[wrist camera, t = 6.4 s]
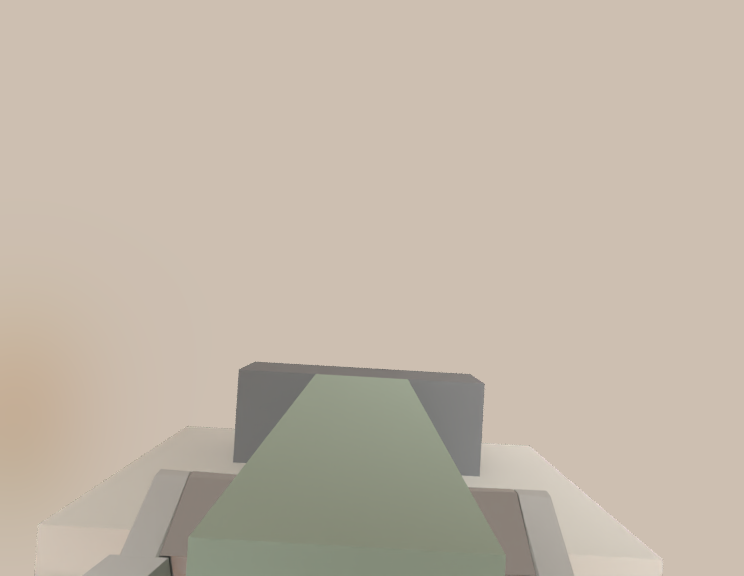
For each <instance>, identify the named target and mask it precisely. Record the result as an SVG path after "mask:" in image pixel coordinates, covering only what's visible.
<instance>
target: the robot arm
mask: <svg viewBox="0 0 744 576" xmlns="http://www.w3.org/2000/svg"><path fill="white" fill-rule="evenodd" d="M236 476H237V474H225V473H212V472H200V471H193V472H191V471H179V470H167V469H160V470H159V472H158V473H157V474H156V475H155V476H154V478H153V480H152V482H151V484H150V487H149V489H148V491H147V494H146V496H145V498H144V500H143V503H142V505H141V507H140V509H139V512H138V514H137V516H136V519H135V521H134V523H133V525H132V528H131V530H130V532H129V535H128V537H127V539H126V541H125V544H124V546H123V548H122V550H121V553H120V555H108V556H107V557H106V558H104V559H103V560H102V561H100V562H99V563H98V564H97V565H95V566H94V567H93V568H91V569H90V570H89V571H87V572H86V573H85V574H84V575H82V576H186V566H187V551H188V537H189V536H190V535H191V533H192V532H193V531H194V529H195V528H196V527H197V526H198V524H199V523H200V522H201V520H202V519H203V518H204V517H205V515H206V514H207V513H208V511H209V510H210V509H211V508H212V506H213V505H214V504H215V503H216V501H217V500H218V499H219V497H220V496H221V495H222V494H223V492H224V491H225V490H226V488H227V487H228V486H229V485H230V483H231V482H232V481H233V479H234V478H235V477H236ZM468 488H469V490H470V492H471V493H472V495H473V497H474V499H475V501H476V502H477V504H478V506H479V508H480V510H481V511H482V513H483V515H484V517H485V518H486V520H487V522H488V524H489V526H490V527H491V529H492V531H493V533H494V535H495V536H496V538H497V540H498V542H499V544H500V545H501V547H502V549H503V551H504V553H505V554H506V564H505V576H574V573H573V570H572V566H571V563H570V560H569V556H568V553H567V549H566V546H565V543H564V539H563V536H562V533H561V529H560V526H559V523H558V519H557V516H556V513H555V509H554V506H553V503H552V499H551V496H550V495H549V493H548V492H547V491H544V490H522V489H514V490H512V489H499V488H477V487H468Z"/></svg>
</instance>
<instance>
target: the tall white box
mask: <svg viewBox="0 0 744 576" xmlns="http://www.w3.org/2000/svg"><path fill="white" fill-rule="evenodd" d="M234 439H235V429H228V428H210V427H192V426H187V427H185V428H184V429H182V430H181V431H179V432H178V433H176V434H175V435H173V436H171V437H170V438H168V439H167V440H166V441H164V442H163V443H161V444H159V445H158V446H156V447H155V448H153V449H152V450H150V451H149V452H147V453H146V454H144V455H143V456H141V457H140V458H138V459H137V460H135V461H134V462H132V463H130V464H129V465H127V466H126V467H124V468H123V469H121V470H120V471H118V472H117V473H116V474H114V475H112V476H111V477H109V478H108V479H106V480H105V481H103V482H102V483H100V484H99V485H97V486H96V487H94V488H93V489H91V490H90V491H88V492H86V493H85V494H84V495H82V496H80V497H79V498H77V499H76V500H75V501H73V502H71V503H70V504H68V505H67V506H65V507H64V508H62V509H61V510H59V511H58V512H56V513H55V514H53V515H52V516H50V517H49V518H47V519H46V520H44V521H42V522H41V523H39V524H38V532H37V546H36V559H35V560H36V561H35V574H34V576H82V575H84V574H85V573H86V572H87V571H89V570H90V569H91V568H93V567H94V566H95V565H97V564H98V563H99V562H100V561H102V560H103V559H104V558H106V557H107V556H108V555H120V553H121V550H122V548H123V546H124V544H125V541H126V539H127V537H128V535H129V532H130V530H131V528H132V525H133V523H134V521H135V519H136V516H137V514H138V512H139V509H140V507H141V505H142V503H143V500H144V498H145V496H146V494H147V491H148V489H149V487H150V484H151V482H152V480H153V478H154V476H155V475H156V474H157V473H158V472H159V470H160V469H167V470H179V471H191V472H193V471H200V472H212V473H225V474H238V473H239V472H240V470H241V469H242V468H243V467H244V465H245V464H246V463H234V462H233V455H234ZM462 477H463V479H464V481H465V483H466V484H467V486H468V487H477V488H499V489H512V490H514V489H522V490H544V491H547V492H548V493H549V495H550V496H551V499H552V503H553V506H554V509H555V513H556V516H557V519H558V523H559V526H560V529H561V533H562V536H563V539H564V543H565V546H566V549H567V553H568V556H569V560H570V563H571V566H572V570H573V573H574V576H662V571H663V559H662V558H660V557H659V556H658V555H657V554H656V553H655V552H654V551H652V550H651V549H650V548H649V547H648V546H646V545H645V544H644V543H643V542H642V541H641V540H639V539H638V538H637V537H636V536H635V535H634V534H632V533H631V532H630V531H629V530H628V529H627V528H625V527H624V526H623V525H622V524H621V523H620V522H618V521H617V520H616V519H615V518H614V517H612V516H611V515H610V514H609V513H608V512H607V511H605V510H604V509H603V508H602V507H601V506H600V505H598V504H597V503H596V502H595V501H594V500H593V499H591V498H590V497H589V496H588V495H586V494H585V493H584V492H583V491H582V490H581V489H580V488H578V487H577V486H576V485H575V484H574V483H572V482H571V481H570V480H569V479H568V478H567V477H565V476H564V475H563V474H562V473H561V472H560V471H558V470H557V469H556V468H555V467H554V466H553V465H551V464H550V463H549V462H548V461H547V460H546V459H544V458H543V457H542V456H541V455H540V454H539V453H537V452H536V451H535V450H534V449H533V448H531V447H530V446H525V445H508V444H490V443H481V460H480V477H479V476H462Z"/></svg>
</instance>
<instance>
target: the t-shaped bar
mask: <svg viewBox="0 0 744 576" xmlns="http://www.w3.org/2000/svg"><path fill="white" fill-rule="evenodd" d="M484 385H485V384H484V383H483V382H481V381H479V380H478V379H476V378H475V377H473V376H472V375H470V374H457V373H440V372H439V373H437V372H422V371H404V370H388V369H387V370H386V369H370V368H353V367H336V366H319V365H301V364H283V363H267V362H254V363H252V364H250V365H247V366H245V367H243V368H241V369H239V378H238V393H237V409H236V424H235V439H234V455H233V462H234V463H246V464H245V465H244V467H243V468H242V469H241V470H240V472H239V473H238V474H237V476H236V477H235V478H234V479H233V481H232V482H231V483H230V485H229V486H228V487H227V488H226V490H225V491H224V492H223V494H222V495H221V496H220V497H219V499H218V500H217V501H216V503H215V504H214V505H213V506H212V508H211V509H210V510H209V511H208V513H207V514H206V515H205V517H204V518H203V519H202V520H201V522H200V523H199V524H198V526H197V527H196V528H195V529H194V531H193V532H192V533H191V535H190V536H189V537H188V551H187V566H186V576H505V564H506V554H505V553H504V551H503V549H502V547H501V545H500V544H499V542H498V540H497V538H496V536H495V535H494V533H493V531H492V529H491V527H490V526H489V524H488V522H487V520H486V518H485V517H484V515H483V513H482V511H481V510H480V508H479V506H478V504H477V502H476V501H475V499H474V497H473V495H472V493H471V492H470V490H469V488H468V486H467V484H466V483H465V481H464V479H463V477H462V476H479V477H480V460H481V441H482V422H483V403H484Z"/></svg>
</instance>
